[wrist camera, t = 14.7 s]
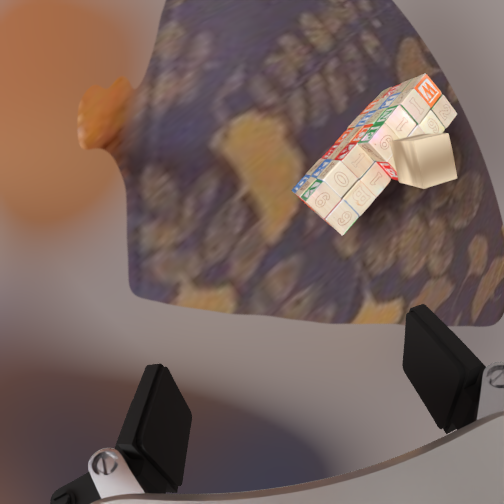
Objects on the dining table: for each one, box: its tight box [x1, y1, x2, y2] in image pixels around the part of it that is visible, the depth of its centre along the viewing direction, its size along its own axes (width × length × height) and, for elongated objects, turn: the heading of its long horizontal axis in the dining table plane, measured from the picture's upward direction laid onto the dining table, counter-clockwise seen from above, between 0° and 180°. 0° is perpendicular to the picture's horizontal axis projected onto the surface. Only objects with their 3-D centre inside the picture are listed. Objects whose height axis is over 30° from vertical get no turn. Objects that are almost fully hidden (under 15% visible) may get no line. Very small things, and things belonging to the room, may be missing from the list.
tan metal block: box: [389, 133, 457, 189], centre depth 25 cm, size 4×4×5 cm
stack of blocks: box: [292, 74, 457, 235], centre depth 33 cm, size 21×6×12 cm, turn 139°
